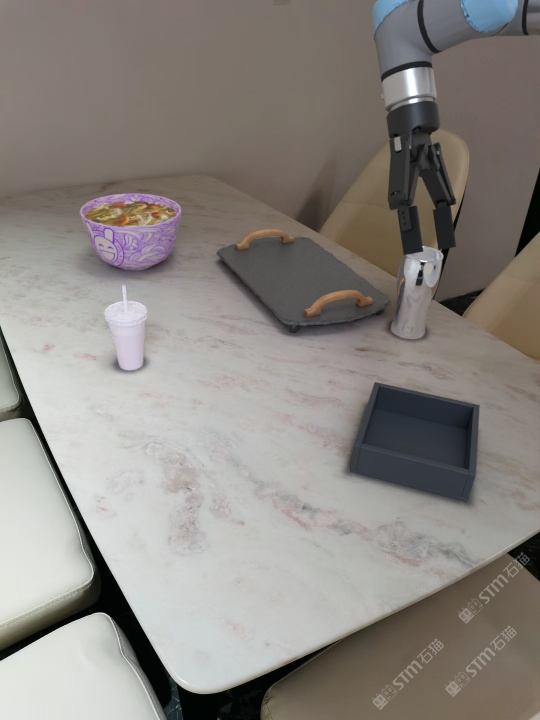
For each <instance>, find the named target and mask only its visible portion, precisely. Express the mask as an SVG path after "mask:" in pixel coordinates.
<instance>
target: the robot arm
mask: <svg viewBox="0 0 540 720" xmlns="http://www.w3.org/2000/svg"><path fill="white" fill-rule="evenodd" d="M371 15H372V17H371V18H372V27H373V29H372V30H373V35H372V36H373V41H374V43H375V49H376V55H377V62H378V67H379V73H380V82H381V90H382V93H381V95H380V98H381V100H382V101H383V102H384V109H385V111H386V112H388V113H387V115H386V117H385V118H386V126H387V133H388V137H389V142H388V143H389V153H390V158H389V171H388V172H389V173H388V185H387V186H388V187H387V202H388V208H389V210H390V211H394V210H396V213H397V219H398V226H399V232H400V240H401V246H402V255H403V254H404V255H408V254H413V253H419V252H423V246H424V245H423V238H422V231H421V224H420V219H419V210H418V205H414V201H415V197H416V191H417V186H418V181H419V178H421V179H422V181H423V184H424V187H425V188H426V191H427V193H428V195H429V197H430V200H431V202H432V204H433V207H434V209H433V208H432V215H433V223H434V230H435V236H436V244H437V250H438V251H441V250H446V249H451V248H456V247H457V243H456V235H455V228H454V227H455V226H454V220H453V213H452V206H455V205H457V198H456V197H455V194H454V190H453V187H452V183H451V181H450V176H449V174H448V170H447V167H446V164H445V161H444V157H443V152H442V146H441V142H440V141H437V142H434V143H433V142H432V138H431V135H432V134H433V133H435V132H437V131H438V130H439V129H440V127H441V118H440V111H439V104H438V103H437V102H436V99H437V97H438V94H437V87H436V81H435V80H436V79H435V74H434V73H435V72H434V68H433V58H432V57H433V56H434V55H437V54H440V53H441V52H444V51H446V50H449V49H451V48H453V47H457V46H459V45H461V44H464V43H466V42H469V41H471V40H478V39H484V38H490V37H491V38H492V37H526V36H540V0H376V2H375V3H374V4H373V7H372V12H371Z"/></svg>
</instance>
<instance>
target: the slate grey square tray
mask: <svg viewBox="0 0 540 720" xmlns="http://www.w3.org/2000/svg"><path fill="white" fill-rule="evenodd" d="M480 407H481V406H480V404H477V403H473V402H468V401H462V400H458V399H453V398H451V397H445V396H440V395H435V394H431V393H426V392H422V391H418V390H413V389H409V388H405V387H400V386H395V385H391V384H386V383H382V382H378V381H374V383H373V386H372V389H371V393H370V396H369V399H368V401H367V404H366V408H365V412H364V414H363V416H362V417H363V418H362V420H361V423H360V427H359V430H358V433H357V436H356V439H355V442H354V446H353V451H352V457H351V464H350V469H349V472H350V473H352V474H356V475H360V476H365V477H368V478H372V479H376V480H379V481H384V482H386V483H387V482H388V483H391V484H395V485H399V486H402V487H407V488H410V489H414V490H417V491H420V492H421V491H422V492H426V493H429V494H433V495H438V496H441V497H444V498H448V499H452V500H456V501H460V502H464V503H468V501H469V497H470V494H471V492H472V488H473V485H474V482H475V480H476V476H477V459H478V444H479V443H478V442H479V441H478V440H479V422H480Z"/></svg>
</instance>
